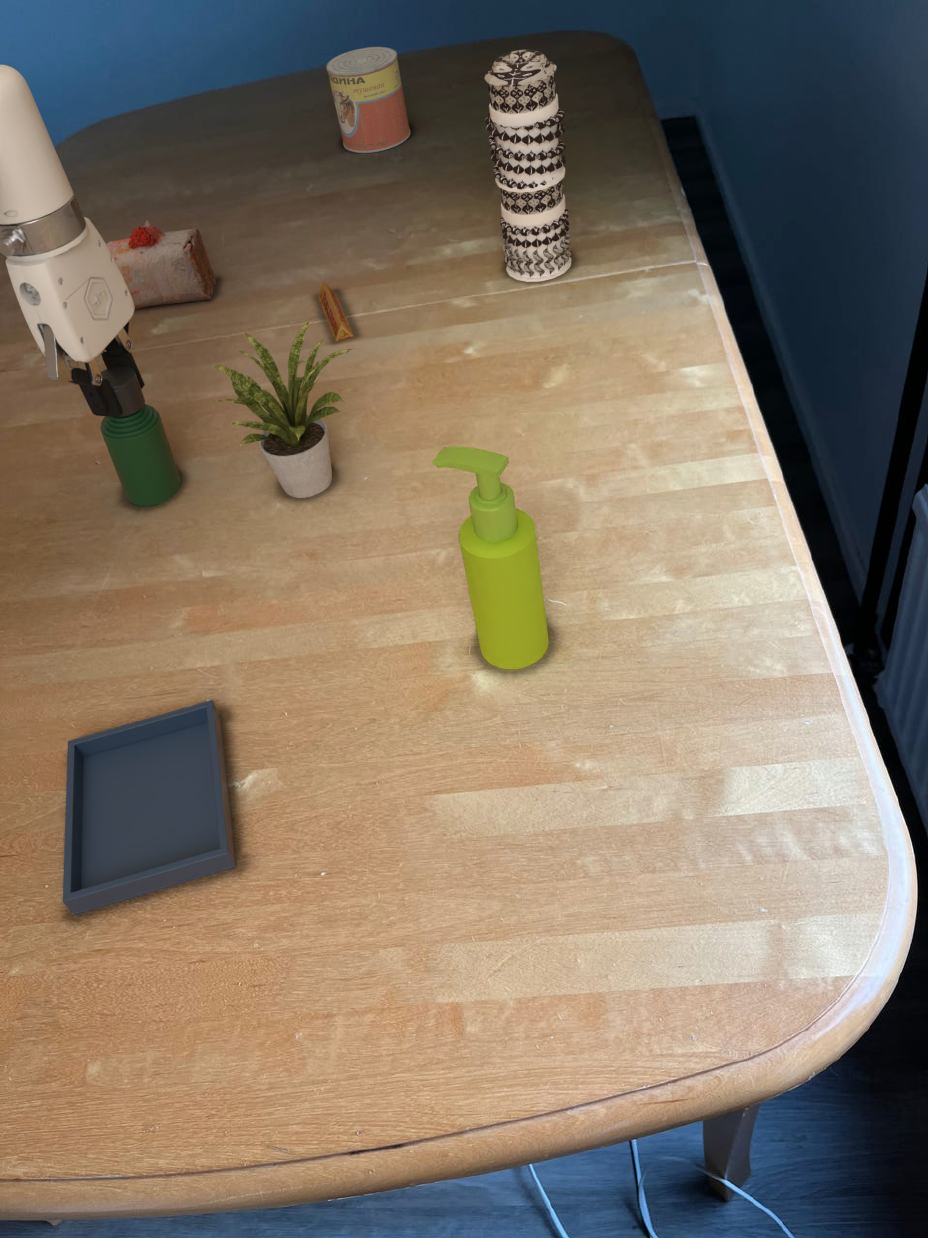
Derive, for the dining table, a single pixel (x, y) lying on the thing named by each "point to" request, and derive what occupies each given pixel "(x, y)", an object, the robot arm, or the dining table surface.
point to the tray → (146, 808)
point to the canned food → (369, 99)
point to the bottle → (142, 456)
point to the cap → (125, 388)
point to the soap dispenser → (500, 563)
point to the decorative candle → (529, 165)
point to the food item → (164, 266)
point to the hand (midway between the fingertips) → (119, 399)
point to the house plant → (289, 418)
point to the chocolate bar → (334, 313)
